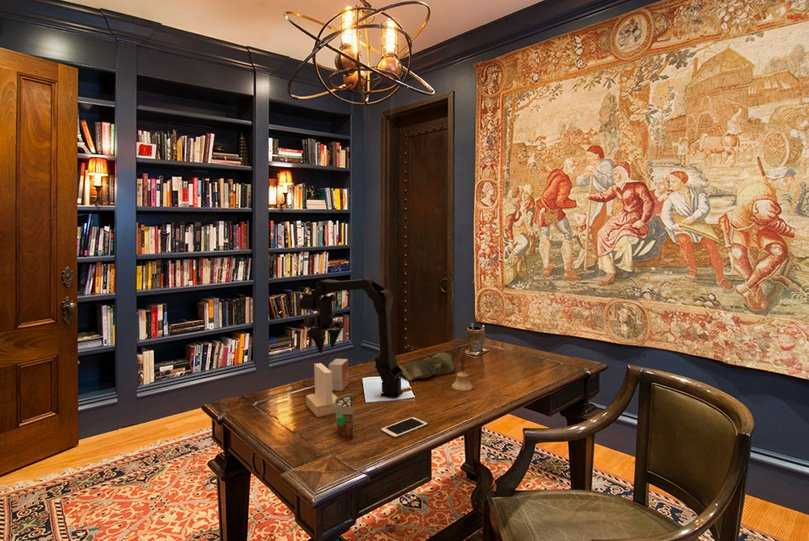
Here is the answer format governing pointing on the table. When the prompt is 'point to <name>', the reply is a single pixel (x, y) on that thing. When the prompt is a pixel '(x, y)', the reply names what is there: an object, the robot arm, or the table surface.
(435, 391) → the table surface
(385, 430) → the cell phone
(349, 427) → the food container
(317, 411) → the carton
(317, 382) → the flap
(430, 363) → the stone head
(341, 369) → the small box
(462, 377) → the hand bell
